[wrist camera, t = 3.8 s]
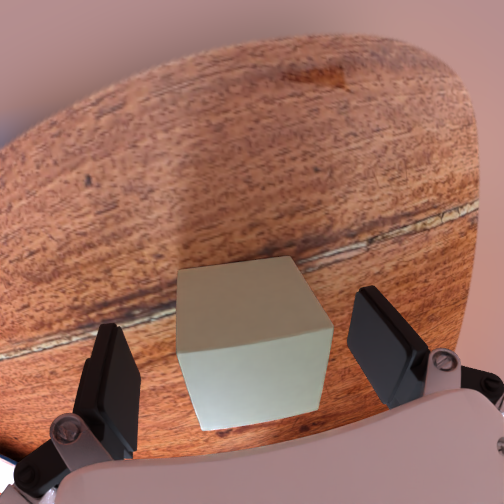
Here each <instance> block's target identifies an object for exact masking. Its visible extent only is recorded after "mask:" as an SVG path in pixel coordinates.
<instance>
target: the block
mask: <svg viewBox="0 0 504 504" xmlns="http://www.w3.org/2000/svg"><path fill="white" fill-rule="evenodd" d="M333 332H334V325H333V324H332V322H331V320H330V319H329V317H328V315H327V314H326V312H325V311H324V309H323V307H322V306H321V304H320V303H319V301H318V299H317V298H316V296H315V295H314V293H313V291H312V290H311V288H310V287H309V285H308V283H307V282H306V280H305V279H304V277H303V275H302V274H301V272H300V271H299V269H298V268H297V266H296V264H295V263H294V261H293V260H292V258H291V257H290V256H282V257H275V258H267V259H259V260H251V261H244V262H236V263H228V264H220V265H212V266H205V267H197V268H189V269H181V270H178V273H177V301H176V354H177V358H178V361H179V364H180V368H181V371H182V374H183V377H184V380H185V383H186V387H187V390H188V393H189V396H190V399H191V402H192V404H193V407H194V410H195V413H196V416H197V419H198V421H199V424H200V427H201V429H202V431H208V430H216V429H224V428H231V427H238V426H244V425H250V424H256V423H261V422H267V421H272V420H277V419H282V418H286V417H291V416H295V415H299V414H303V413H308V412H312V411H315V410H318V407H319V403H320V398H321V394H322V389H323V385H324V380H325V375H326V370H327V365H328V360H329V354H330V349H331V343H332V338H333Z"/></svg>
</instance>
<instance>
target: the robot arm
mask: <svg viewBox="0 0 504 504" xmlns="http://www.w3.org/2000/svg"><path fill="white" fill-rule="evenodd" d="M347 345H348V347H349V349H350V351H351V352H352V354H353V356H354V357H355V359H356V361H357V362H358V364H359V365H360V367H361V369H362V370H363V372H364V374H365V375H366V377H367V379H368V380H369V382H370V384H371V385H372V387H373V389H374V390H375V392H376V394H377V395H378V397H379V399H380V400H381V402H382V403H383V404H386V405H387V406H388V408H389V410H388V411H385V412H382V413H380V414H377V415H374V416H371V417H369V418H366V419H363V420H360V421H357V422H354V423H351V424H348V425H345V426H341V427H338V428H335V429H332V430H328V431H325V432H321V433H317V434H314V435H310V436H306V437H302V438H298V439H294V440H290V441H285V442H281V443H276V444H271V445H266V446H261V447H256V448H250V449H244V450H238V451H231V452H224V453H216V454H208V455H198V456H187V457H174V458H157V459H133V451H136V450H137V435H138V414H139V398H140V385H141V377H140V373H139V370H138V368H137V366H136V363H135V361H134V359H133V356H132V354H131V351H130V349H129V346H128V344H127V341H126V339H125V336H124V334H123V331H122V329H121V327H120V326H118V327H117V325H116V324H115V323H109V324H101V325H100V327H99V330H98V334H97V337H96V340H95V344H94V347H93V351H92V354H91V358H88V359H87V360H86V361H85V364H84V368H83V372H82V375H81V379H80V383H79V387H78V391H77V395H76V399H75V404H74V408H73V413H66V414H62V415H60V416H58V417H57V418H56V419H55V420H54V421H53V422H52V424H51V427H50V437H51V439H49V440H48V441H47V442H45V443H44V444H43V445H41V446H40V447H39V448H37V449H36V450H34V451H33V452H32V453H30V454H29V455H28V456H26V457H25V458H23V459H22V460H21V461H19V462H18V463H17V464H16V466H15V468H14V471H13V479H14V483H13V484H12V485H11V484H10V483H9V484H8V485H7V487H6V488H5V489H4V491H3V492H2V494H1V495H0V504H504V384H503V382H502V380H501V379H500V378H499V377H498V376H497V375H495V374H493V373H489V372H485V371H481V370H477V369H473V368H469V367H465V366H461V362H460V359H459V357H458V355H457V354H456V353H455V352H453V351H451V350H449V349H446V348H436V349H434V350H432V351H430V350H429V349H428V346H427V344H426V343H425V342H424V341H423V340H422V339H421V337H420V336H419V335H418V334H417V333H416V332H415V330H414V329H413V328H412V327H411V326H410V325H409V323H408V322H407V321H406V320H405V319H404V318H403V317H402V316H401V314H400V313H399V312H398V311H397V310H396V309H395V308H394V307H393V305H392V304H391V303H390V302H389V301H388V300H387V299H386V298H385V297H384V296H383V294H382V293H381V292H380V291H379V290H378V289H377V288H376V287H375V286H373V285H371V286H366V287H362V288H360V289H359V292H357V293H356V295H355V301H354V306H353V312H352V317H351V323H350V328H349V333H348V338H347ZM400 405H401V406H400ZM124 459H133V460H124Z"/></svg>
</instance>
